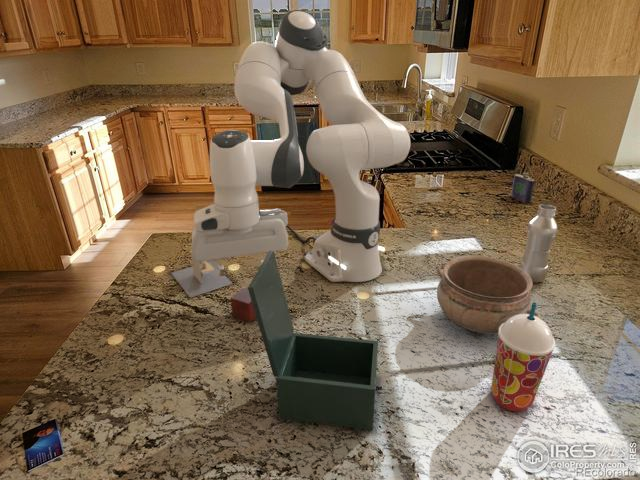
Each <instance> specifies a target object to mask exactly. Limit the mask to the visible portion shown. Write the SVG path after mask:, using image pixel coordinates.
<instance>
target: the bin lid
mask: <svg viewBox="0 0 640 480" xmlns="http://www.w3.org/2000/svg"><path fill="white" fill-rule="evenodd" d="M265 256H266V255H265ZM264 258H265V257H264ZM263 260H264V261H263V263H262V264H261V263H260V266H259V267H258V269H257V271H256V272H255V275H254V277H253V278H252V280H251V281H250V283H249V285H248V286H247V289H248V291H249V294H250V297H251V301H252V304H253V308H254V311H255V314H256V318H255V319H256V321H257V323H258V324H257V325H258V329H259V332H260V335H261V338H262V342H263V345H264V348H265V352H266V355H267V359H268V362H269V365H270V369H271V372H272V376H273V377H277V376H278V375H279V372H280V369H281V366H282V363H283V361H284V358H285V355H286V352H287V349H288V346H289V343H290V341H291V338H292V335H293V333H295V332H294V331H295V329H294V325H293V321H292V317H291V313H290V309H289V305H288V301H287V297H286V293H285V290H284V286H283V281H282V278H281V274H280V270H279V265H278V261H277V259H276V255H275V251H269V253H268V254H267V256H266V258H265V259H263Z"/></svg>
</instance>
